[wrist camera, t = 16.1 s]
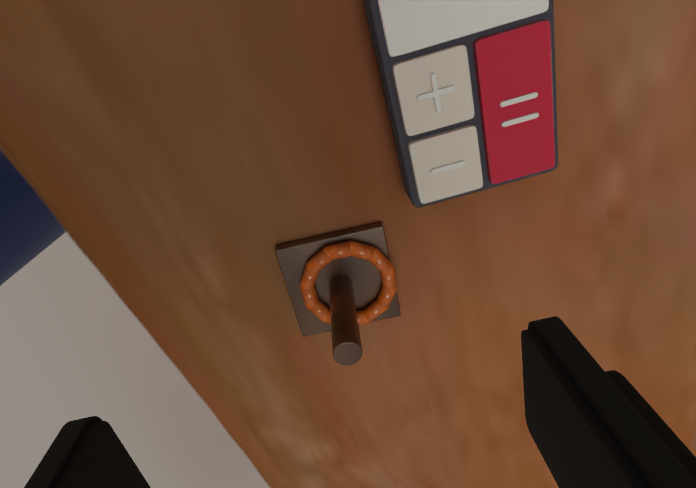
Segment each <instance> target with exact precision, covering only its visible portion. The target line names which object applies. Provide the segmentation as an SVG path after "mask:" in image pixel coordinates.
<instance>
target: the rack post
mask: <svg viewBox="0 0 696 488" xmlns="http://www.w3.org/2000/svg"><path fill="white" fill-rule="evenodd" d="M348 241H353V242H357V243H361V244H365V245H369V246H373V247H376V248H377V249H378V250H379V251H380V252H381V253H382V254H383V255H384V256H385V257H386V258H387V259H388V260H389V261H390V259H389V254H388V249H387V244H386V239H385V234H384V229H383V225H382V222H377V223H373V224H368V225H364V226H360V227H355V228H351V229H346V230H342V231H338V232H333V233H329V234H324V235H320V236H316V237H311V238H307V239H302V240H298V241H294V242H289V243H285V244H280V245H276V248H275V253H276V256H277V259H278V262H279V265H280V268H281V271H282V274H283V277H284V280H285V283H286V286H287V289H288V292H289V295H290V298H291V301H292V304H293V307H294V310H295V313H296V316H297V319H298V322H299V325H300V328H301V331H302V334H303V337H304V336H309V335H313V334H318V333H322V332H327V331H331V330H332V348H333V357H334V359H335V361H336V362H338V363H339V364H342V365H352V364H355V363H356V362H358V361H359V360H360V359H361V357H362V346H361V339H360V332H359V325H358V318H357V311H360V310H364V309H366V308H367V307H368V306H369V305H371V304H372V303H373V302H374V301H376V300H377V299H378V296H379V294H380V291H381V289H382V286H383V284H382V280H381V275H380V271H379V270H378V269H377V268H375V267H374V266H373V265H372V264H371V263H370V262H369V261H368V260H364V259H360V258H356V257H352V256H349V257H345V258H340V259H336V260H332V261H331V262H330V263H329V264H327V265H326V266H325V267H324V268H323V269H321V270H320V271H319V273H318V276H317V279H316V282H315V285H314V287H315V290H316V293H317V297H318V300H320V301H321V302H322V303H323V304H324V305H325V306H326V307H328V308H329V309H330V311H331V324H328V323H324V322H322V321H321V320H320V319H319V318H318V317H317V316H315V315H314V314H313V313H312V312H311V311H309V310H308V309H307V308H306V306H305V303H304V300H303V296H302V293H301V290H300V281H301V278H302V275H303V272H304V269H305V266H306V263H307V262H308V261H309V260H310V259H312V258H313V257H314V256H315V255H316V254H317V253H319V252H320V251H321V250H322V249H323V248H324V247H326V246H331V245H335V244H339V243H344V242H348ZM400 315H401V314H400V309H399V304H398V299H397V294H396V292H395V294H394V297H393V299H392V301H391V304H390V306H389V308H388V309H387V310H386V311H384V312H383V313H382V314H381V315H379V316H378V317H377V318H375V319H374V320H373V321H377V320H382V319H386V318H391V317H395V316H400ZM373 321H371V322H373Z"/></svg>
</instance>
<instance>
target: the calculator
mask: <svg viewBox="0 0 696 488" xmlns="http://www.w3.org/2000/svg"><path fill="white" fill-rule="evenodd" d="M363 2H364V7H365V11H366V16H367V20H368V25H369V29H370V34H371V38H372V43H373V47H374V51H375V55H376V58H377V62H378V66H379V71H380V75H381V80H382V85H383V89H384V94H385V98H386V103H387V107H388V112H389V117H390V121H391V126H392V130H393V135H394V139H395V144H396V149H397V153H398V158H399V162H400V167H401V171H402V176H403V181H404V185H405V189H406V192H407V194H408V196H409V198H410V200H411V202H412V204H413V205H414V206H415V207H423V206H427V205H430V204H434V203H438V202H441V201H445V200H448V199H452V198H456V197H459V196H463V195H467V194H470V193H474V192H477V191H481V190H485V189H488V188H492V187H495V186H499V185H503V184H506V183H510V182H514V181H517V180H521V179H524V178H528V177H532V176H535V175H539V174H542V173H546V172H550V171H553V170H555V169H556V168H557V166H558V145H557V113H556V81H555V49H554V17H553V0H363Z"/></svg>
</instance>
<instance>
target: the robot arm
mask: <svg viewBox="0 0 696 488" xmlns="http://www.w3.org/2000/svg"><path fill="white" fill-rule="evenodd" d="M521 342H522V361H523V380H524V399H525V417H526V422H527V426H528V429H529V431H530V433H531V436H532V437H533V439H534V441H535V443H536V445H537V447H538V449H539V451H540V452H541V454H542V456H543V458H544V460H545V462H546V464H547V466H548V468H549V469H550V471H551V473H552V475H553V477H554V479H555V481H556V483H557V485H558V486H559V488H696V457H695V456H694V455H693V454H692V453H691V451H690V450H689V449H688V448H687V447H686V446H685V445H684V444H683V442H682V441H681V440H680V439H679V438H678V437H677V436H676V435H675V433H674V432H673V431H672V430H671V429H670V428H669V427H668V425H667V424H666V423H665V422H664V421H663V420H662V419H661V418H660V416H659V415H658V414H657V413H656V412H655V411H654V410H653V409H652V407H651V406H650V405H649V404H648V403H647V402H646V401H645V399H644V398H643V397H642V396H641V395H640V394H639V393H638V392H637V390H636V389H635V388H634V387H633V386H632V385H631V384H630V383H629V381H628V380H627V379H626V378H625V377H624V376H623V375H622V374H620V373H619V372H617V371H615V370H613V371H606V372H604V370H603V369H602V368H601V367H600V366H599V364H598V363H597V362H596V361H595V360H594V358H593V357H592V356H591V355H590V354H589V352H588V351H587V350H586V349H585V348H584V347H583V345H582V344H581V343H580V342H579V341H578V339H577V338H576V337H575V336H574V335H573V333H572V332H571V331H570V330H569V329H568V327H567V326H566V325H565V324H564V323H563V322H562V320H561V319H560V318H558V317H556V316H555V317H550V318H546V319H541V320H536V321H532V322H529V325H528V329H527V330H523V331H522V332H521ZM24 488H150V486H149V485H148V483H147V482H146V480H145V478H144V477H143V475H142V474H141V472H140V471H139V469H138V468H137V466H136V465H135V463H134V462H133V460H132V458H131V457H130V455H129V454H128V452H127V451H126V449H125V448H124V446H123V444H122V443H121V441H120V440H119V438H118V437H117V435H116V434H115V432H114V431H113V429H112V427H111V426H110V424H109V423H108V422H106V421H102V420H101V419H100V418H99V417H97V416H93V417H88V418H83V419H78V420H74V421H70V422H68V423H66V424H65V425H64V426H63V428H62V429H61V430H60V432H59V434H58V435H57V437H56V438H55V440H54V442H53V443H52V445H51V446H50V448H49V450H48V451H47V453H46V454H45V456H44V458H43V459H42V461H41V462H40V464H39V465H38V467H37V469H36V470H35V472H34V473H33V475H32V476H31V478H30V479H29V481H28V483H27V484H26V486H25V487H24Z"/></svg>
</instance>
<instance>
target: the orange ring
mask: <svg viewBox="0 0 696 488" xmlns="http://www.w3.org/2000/svg"><path fill="white" fill-rule="evenodd" d="M349 256H352V257H356V258H360V259H364V260H368V261H369V262H370V263H371V264H372V265H373V266H374V267H375V268H377V269H378V270H379V271H380V275H381V280H382V284H383V286H382V289H381V291H380V294H379V296H378V299H377V300H376V301H374V302H373V303H372V304H371V305H369V306H368V307H367V308H366V309H364V310H360V311H357V318H358V325H361V324H366V323H370V322H371V321H373V320H374V319H375V318H377V317H378V316H379V315H381V314H382V313H383V312H384V311H386V310H387V309H388V308H389V306H390V304H391V301H392V299H393V297H394V294H395V292H396V290H397V282H396V277H395V272H394V266H393V264H392V263H391V262H390V261H389V260H388V259H387V258H386V257H385V256H384V255H383V254H382V253H381V252H380V251H379V250H378V249H377V248H376V247H373V246H369V245H365V244H361V243H357V242H353V241H348V242H344V243H339V244H335V245H331V246H326V247H324V248H323V249H322V250H321V251H320V252H319V253H317V254H316V255H315V256H314V257H313V258H312V259H310V260H309V261H308V262H307V263H306V266H305V269H304V272H303V275H302V278H301V281H300V290H301V293H302V296H303V300H304V303H305V306H306V308H307V309H308V310H309V311H311V312H312V313H313V314H314V315H315V316H317V317H318V318H319V319H320V320H321V321H322V322H324V323H328V324H331V311H330V309H329V308H328V307H326V306H325V305H324V304H323V303H322V302H321V301H320V300H318V297H317V293H316V290H315V287H314V285H315V282H316V279H317V276H318V273H319V271H320V270H321V269H323V268H324V267H325V266H326V265H327V264H329V263H330V262H331V261H332V260H336V259H340V258H345V257H349Z"/></svg>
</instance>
